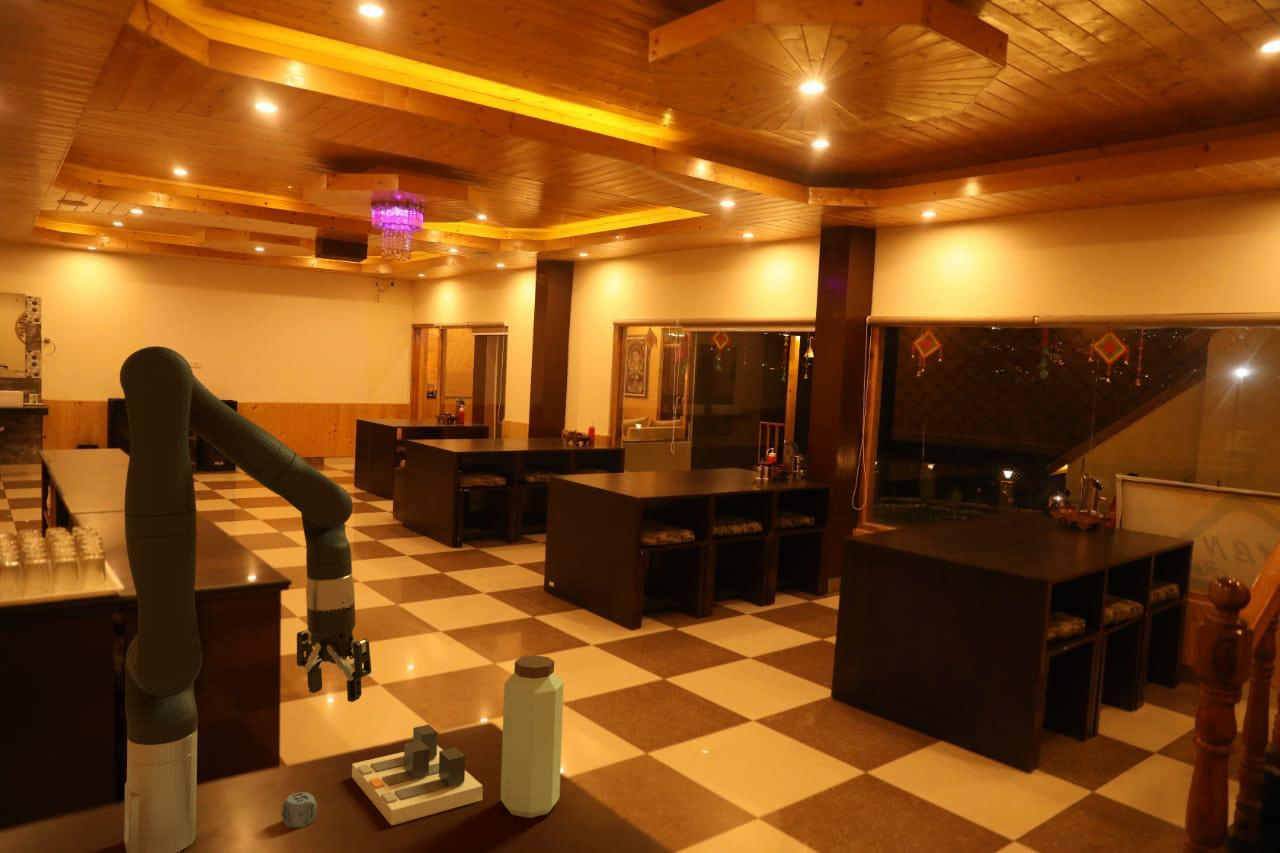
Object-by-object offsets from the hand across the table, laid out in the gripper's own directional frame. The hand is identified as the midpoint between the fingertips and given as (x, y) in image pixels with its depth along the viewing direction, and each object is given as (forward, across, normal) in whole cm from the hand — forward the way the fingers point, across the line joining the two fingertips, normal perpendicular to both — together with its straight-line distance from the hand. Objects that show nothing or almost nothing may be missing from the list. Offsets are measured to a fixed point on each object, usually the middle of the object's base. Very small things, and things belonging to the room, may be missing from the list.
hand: (334, 695), depth 142 cm
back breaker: (+17, +5, +16) cm, 24 cm away
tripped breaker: (+16, +8, +10) cm, 21 cm away
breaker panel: (+19, +8, +10) cm, 23 cm away
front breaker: (+16, +15, +11) cm, 25 cm away
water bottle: (+20, +29, +15) cm, 38 cm away
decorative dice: (+18, -1, -8) cm, 20 cm away
